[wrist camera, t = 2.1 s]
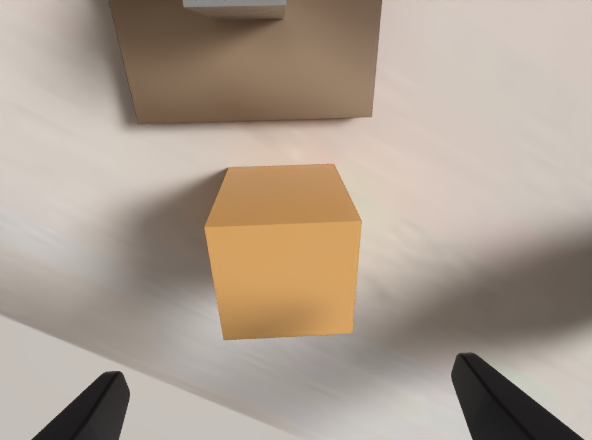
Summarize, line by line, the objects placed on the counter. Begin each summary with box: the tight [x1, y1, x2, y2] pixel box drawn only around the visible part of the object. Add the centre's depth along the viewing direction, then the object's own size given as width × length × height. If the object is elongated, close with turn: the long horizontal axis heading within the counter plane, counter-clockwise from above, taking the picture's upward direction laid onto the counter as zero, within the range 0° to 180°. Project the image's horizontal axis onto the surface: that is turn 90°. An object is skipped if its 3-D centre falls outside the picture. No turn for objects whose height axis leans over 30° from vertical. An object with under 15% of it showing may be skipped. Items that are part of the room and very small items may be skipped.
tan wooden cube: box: [204, 164, 362, 340], centre depth 15 cm, size 5×5×6 cm
